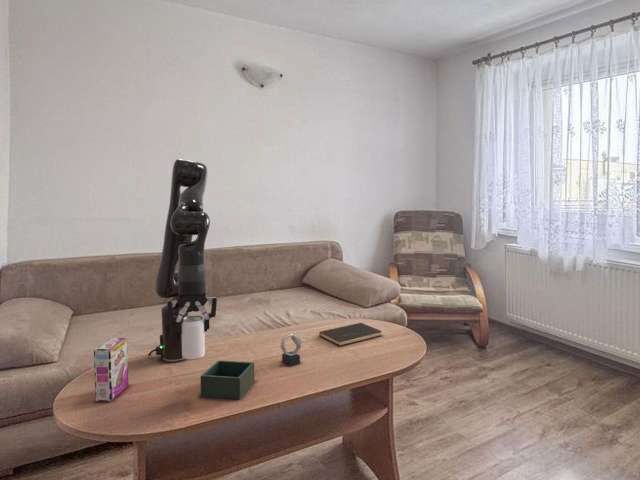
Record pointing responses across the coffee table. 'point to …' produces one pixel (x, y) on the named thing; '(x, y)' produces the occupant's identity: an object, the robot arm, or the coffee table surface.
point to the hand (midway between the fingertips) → (193, 331)
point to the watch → (291, 357)
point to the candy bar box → (111, 369)
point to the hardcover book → (350, 334)
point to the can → (193, 337)
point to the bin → (227, 379)
